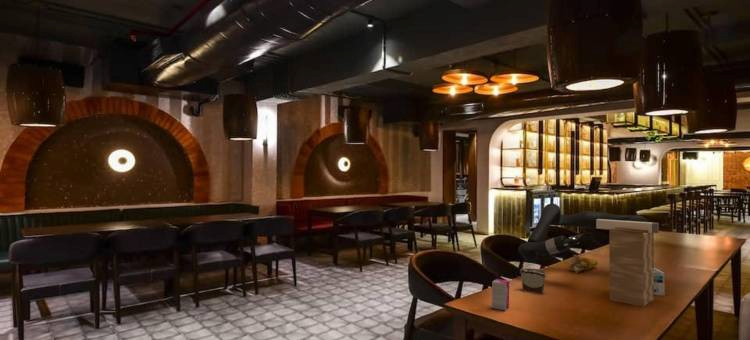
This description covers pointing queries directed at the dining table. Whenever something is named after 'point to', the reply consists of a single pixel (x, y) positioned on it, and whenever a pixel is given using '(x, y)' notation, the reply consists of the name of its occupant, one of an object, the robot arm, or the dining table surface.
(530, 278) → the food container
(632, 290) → the stand
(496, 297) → the supplement box
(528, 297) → the dining table surface
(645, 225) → the bar
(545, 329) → the dining table surface
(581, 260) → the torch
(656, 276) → the light bulb box
